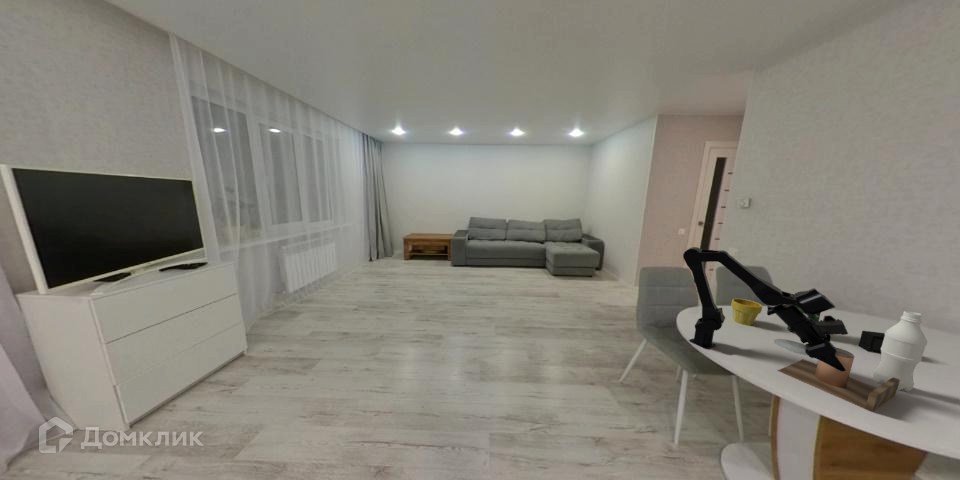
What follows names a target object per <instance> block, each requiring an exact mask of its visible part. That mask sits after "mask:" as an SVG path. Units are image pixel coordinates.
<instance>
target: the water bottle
mask: <svg viewBox="0 0 960 480" xmlns="http://www.w3.org/2000/svg"><path fill="white" fill-rule="evenodd" d="M922 316H923V314H921V313H919V312H914V311H910V310H904V311H903V313H902V315H901V316H900V321H898V323H896V324H894V325H892V326H891V327H889V328H888V329H887V330H885V332H884V333H885V337H884V340H883V344H882V347H881V353H880V354H881V358H880V362H879V364H878V366H877V367H876V369H875V370H874V371H873V374H872V378H873V381H875V382H876V383H878V384H881V385H882V384H884V383H885V382H887V381H888V380H890V379H891V378H893V377H894V378H897V379H899V380H900V382H899V385H898V388H897V391H901V390H902V391H904V392H910V391H911V390H912V389H913V388H914V385H915V382H914V373H915V369H916V367H917V365H918V364H919V363H921V362H922V361H923V359H922V358H923V355H924V351H925V349H926V346H927V344H928V340H927V337H926V335H925V333H924V332H923V330H922V329H921V326H920V325H921V323H922Z"/></svg>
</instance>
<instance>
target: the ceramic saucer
mask: <svg viewBox="0 0 960 480" xmlns="http://www.w3.org/2000/svg"><path fill="white" fill-rule="evenodd" d="M773 343H774V344H775V345H776V346H778V347H780V348H782V349H784V350H787V351H789V352H792V353H794V354H799V355H802V356H803V355H804V356H807V357H809V356H808V355H807V354H806V353H805V349H804V347H805V343H802V342H798V341H794V340H791V339H785V338H784V339H783V338H776V339H773Z"/></svg>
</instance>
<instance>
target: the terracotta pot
mask: <svg viewBox="0 0 960 480" xmlns="http://www.w3.org/2000/svg"><path fill="white" fill-rule="evenodd" d="M836 350H837V352H836V353H835V355H836V357H837V358H838V360H839V361H840V362H841V364H842V365H843V366H844V368H845V369H846V371H840V370H838V369H836V368H834V367H832V366H830V365H828V364H826V363H824V362H822V361H820V360H818V359H817V363H816V364H817V368H816V372H815V377H816V378H817V379H818V380H820V381H822V382H824V383H826V384H829V385H832V386H835V387H841V388H845V387H846V386H847V382H848V379H849V377H850V375H851V371H852V368H853V363H854V359H855V356H854V354H853V353H852V352H850V351H848V350H845V349H842V348H839V347H836Z"/></svg>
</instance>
